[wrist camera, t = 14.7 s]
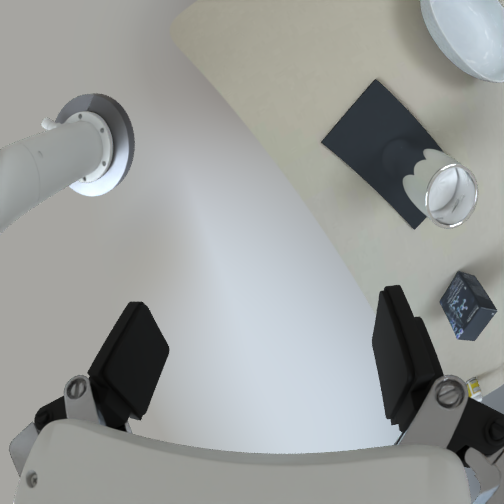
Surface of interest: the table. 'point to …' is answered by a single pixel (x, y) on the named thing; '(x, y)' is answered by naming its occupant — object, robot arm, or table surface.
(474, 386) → the supplement bottle
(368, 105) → the placemat
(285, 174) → the table surface
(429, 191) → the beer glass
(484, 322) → the box
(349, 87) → the table surface
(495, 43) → the cereal bowl
